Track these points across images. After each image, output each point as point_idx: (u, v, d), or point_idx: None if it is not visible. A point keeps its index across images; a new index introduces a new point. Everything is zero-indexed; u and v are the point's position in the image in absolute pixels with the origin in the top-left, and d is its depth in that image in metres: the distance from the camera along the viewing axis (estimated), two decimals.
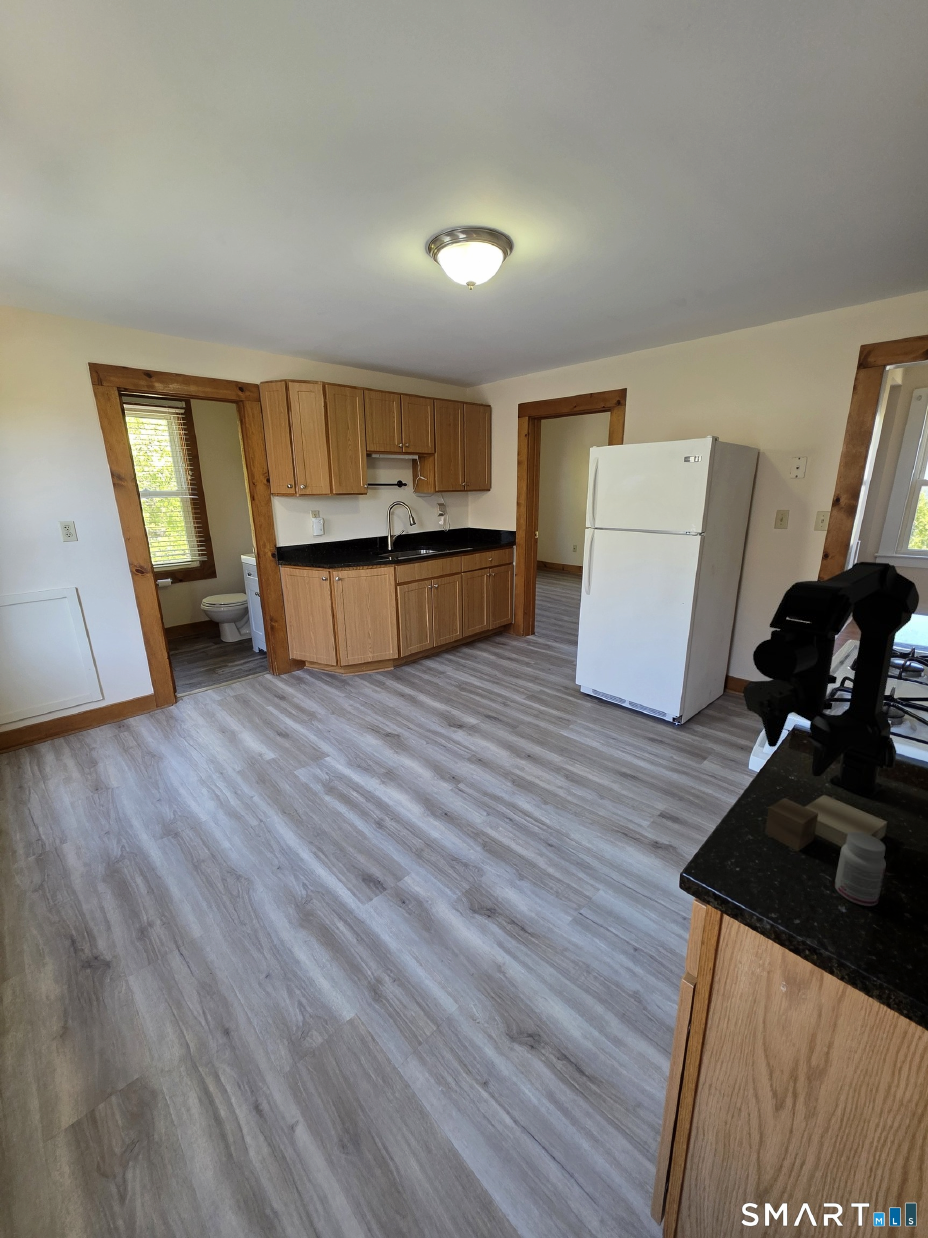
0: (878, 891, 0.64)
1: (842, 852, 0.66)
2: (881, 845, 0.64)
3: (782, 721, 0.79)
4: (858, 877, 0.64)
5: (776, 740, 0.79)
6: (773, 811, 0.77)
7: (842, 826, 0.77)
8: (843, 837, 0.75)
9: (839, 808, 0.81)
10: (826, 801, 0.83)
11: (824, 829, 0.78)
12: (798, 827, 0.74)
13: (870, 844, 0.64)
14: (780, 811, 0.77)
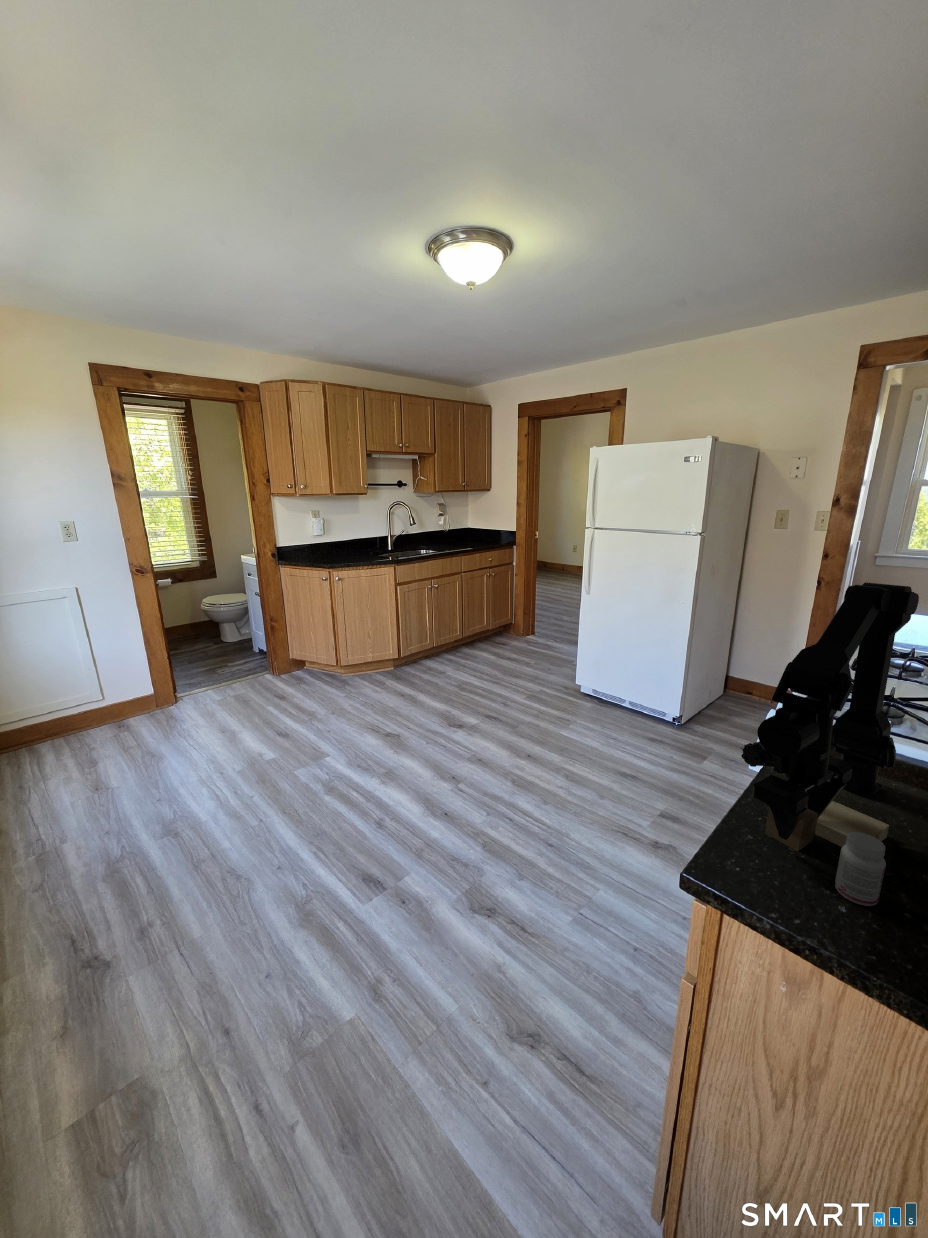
0: (878, 891, 0.64)
1: (842, 852, 0.66)
2: (881, 845, 0.64)
3: (825, 798, 0.77)
4: (858, 877, 0.64)
5: None
6: None
7: (844, 829, 0.76)
8: (845, 841, 0.75)
9: (841, 811, 0.81)
10: None
11: (826, 832, 0.77)
12: (798, 827, 0.74)
13: (870, 844, 0.64)
14: None
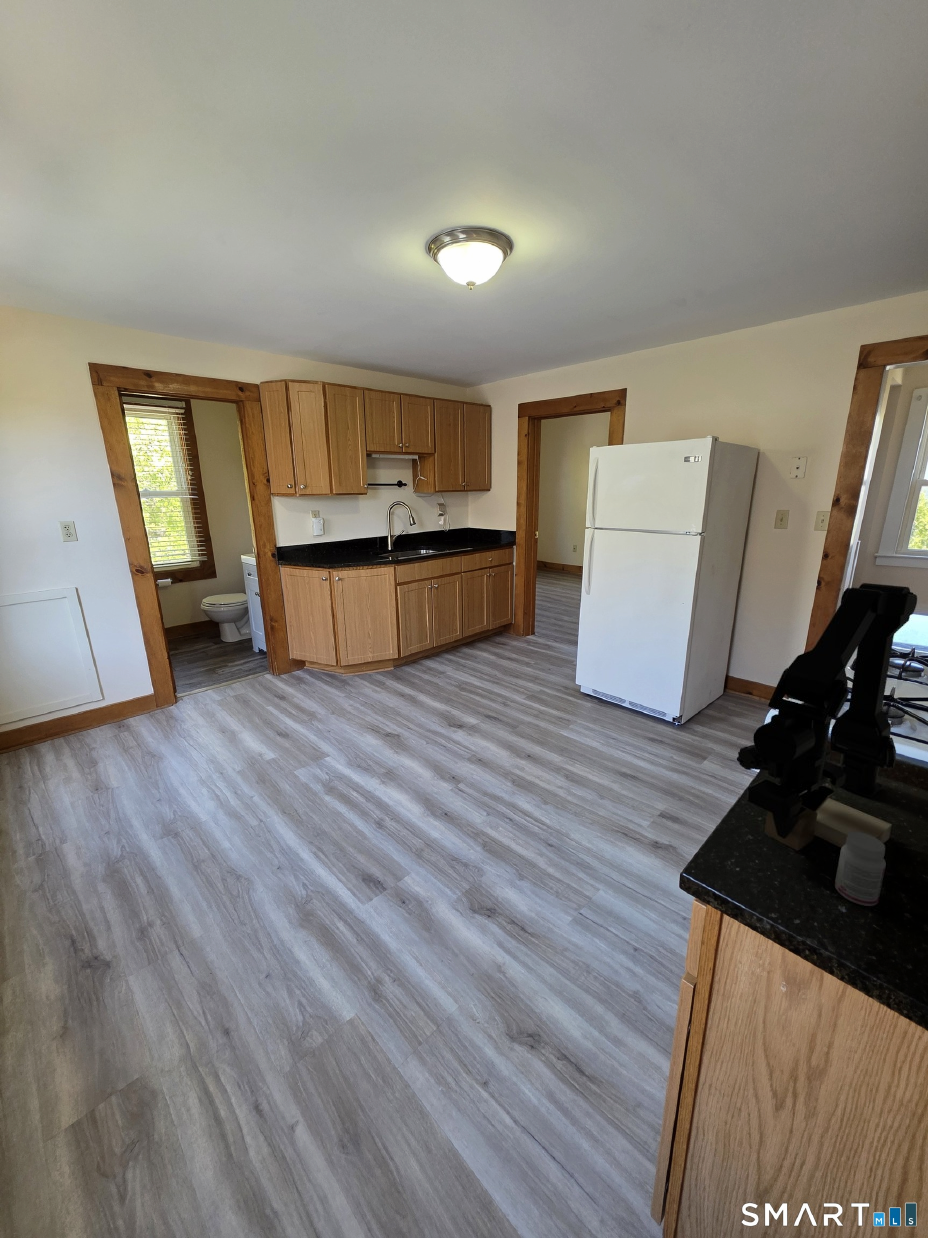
0: (878, 891, 0.64)
1: (842, 852, 0.66)
2: (881, 845, 0.64)
3: (812, 806, 0.77)
4: (858, 877, 0.64)
5: None
6: None
7: (846, 829, 0.76)
8: None
9: (843, 810, 0.81)
10: (830, 804, 0.82)
11: (829, 832, 0.77)
12: (797, 826, 0.74)
13: (870, 844, 0.64)
14: None
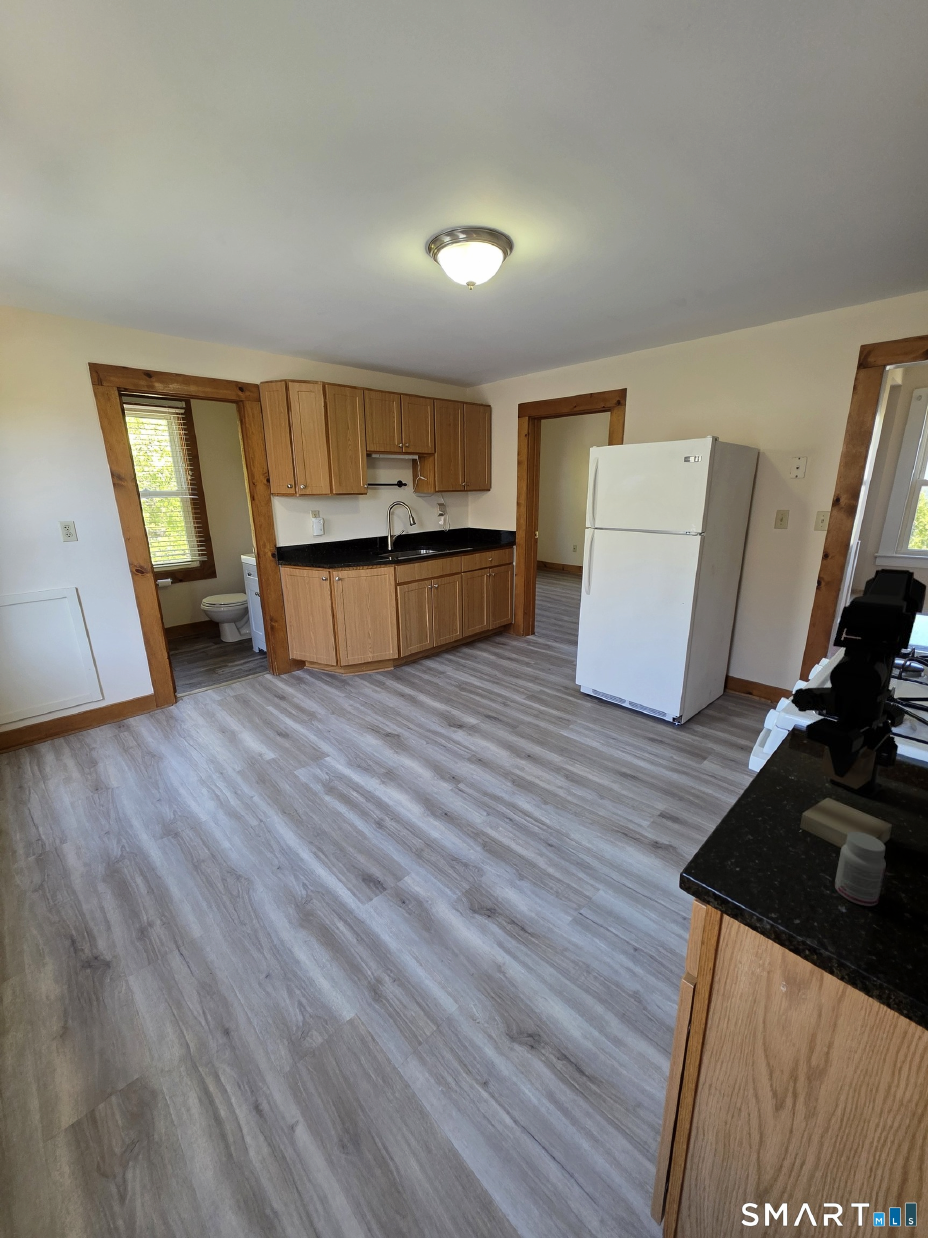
0: (878, 891, 0.64)
1: (842, 852, 0.66)
2: (881, 845, 0.64)
3: (870, 746, 0.77)
4: (858, 877, 0.64)
5: None
6: None
7: (846, 829, 0.76)
8: None
9: (843, 810, 0.81)
10: (830, 804, 0.82)
11: (829, 832, 0.77)
12: (857, 764, 0.74)
13: (870, 844, 0.64)
14: None
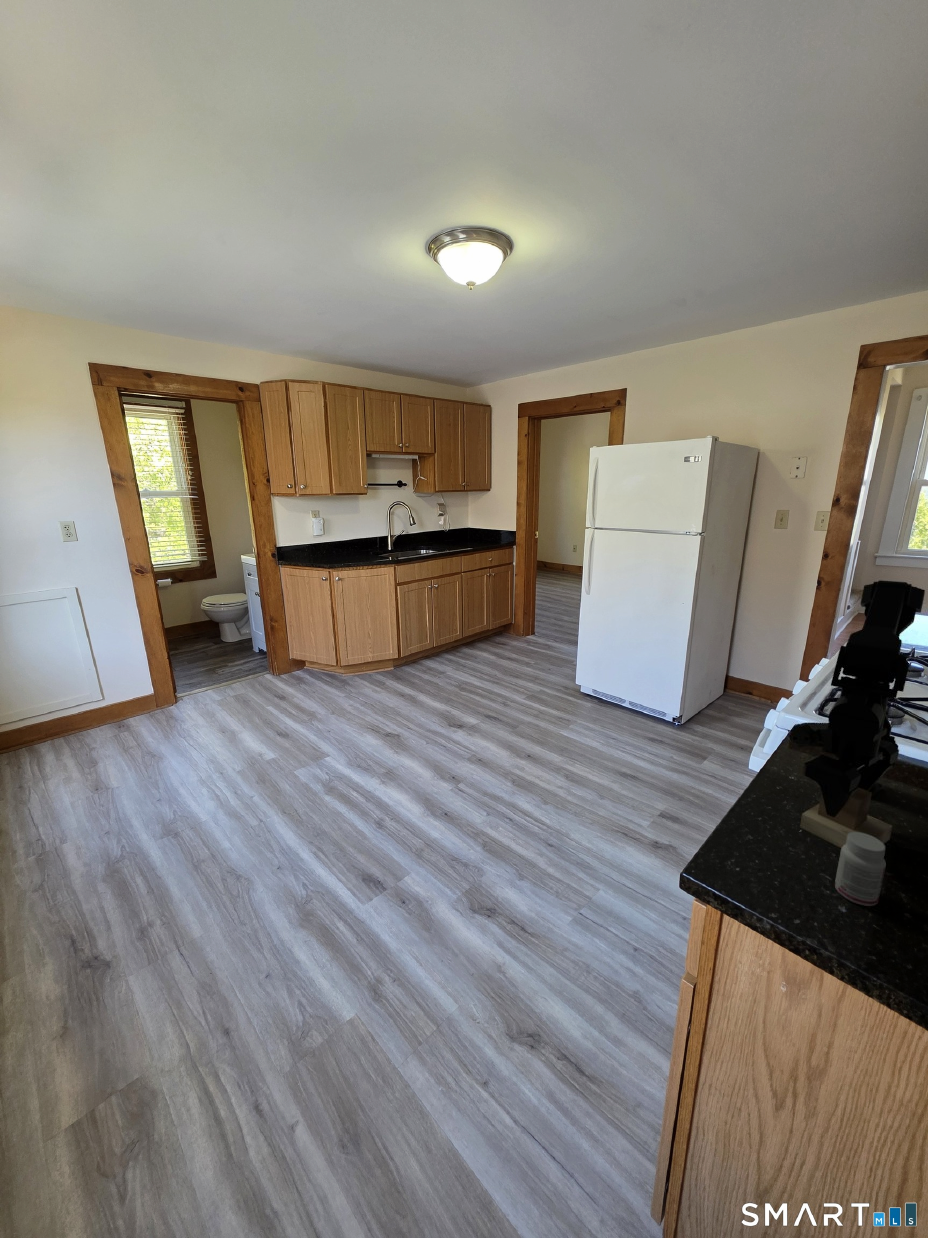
0: (878, 891, 0.64)
1: (842, 852, 0.66)
2: (881, 845, 0.64)
3: (870, 779, 0.79)
4: (858, 877, 0.64)
5: None
6: None
7: (846, 829, 0.76)
8: None
9: None
10: None
11: (828, 832, 0.77)
12: (854, 806, 0.75)
13: (870, 844, 0.64)
14: None
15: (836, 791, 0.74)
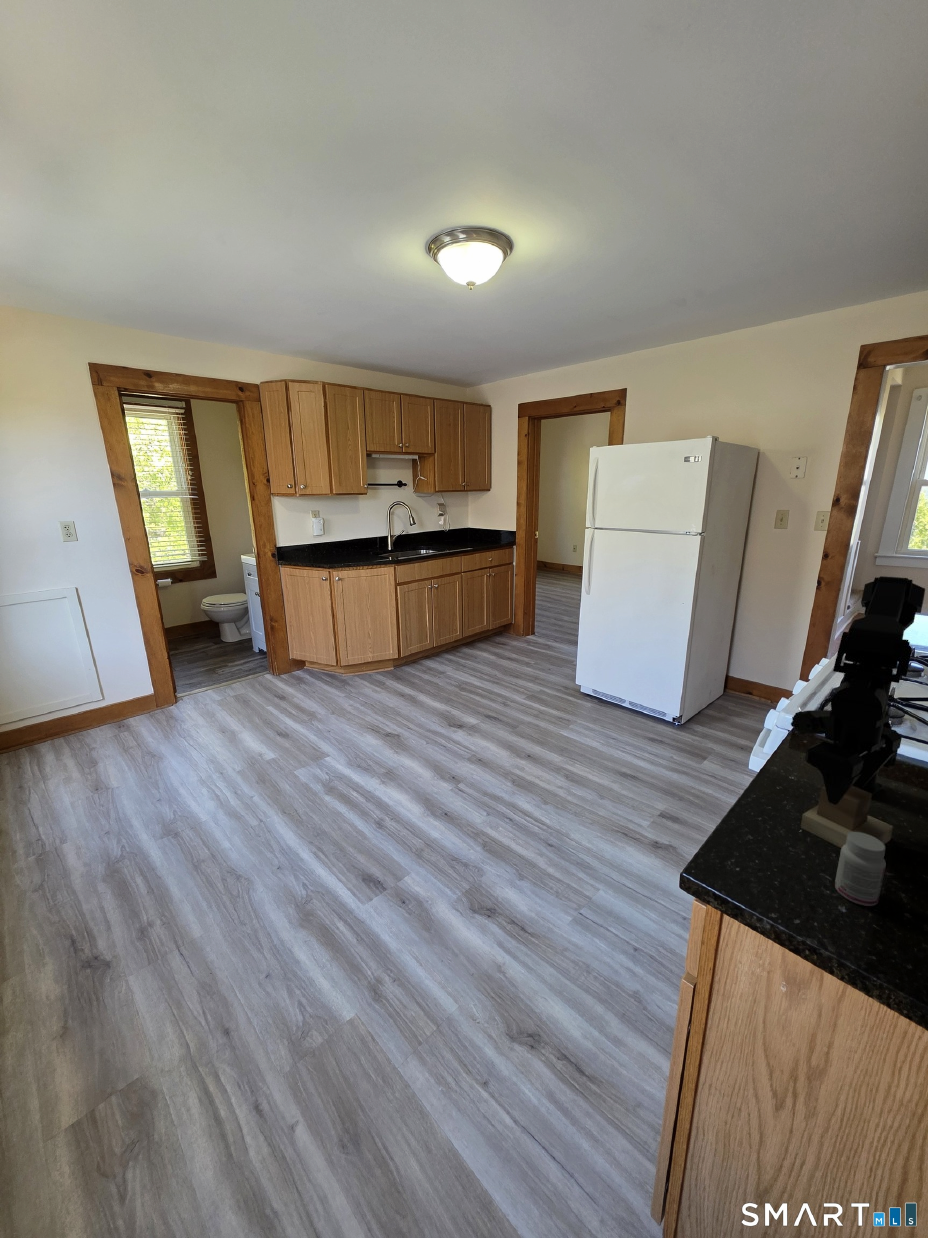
0: (878, 891, 0.64)
1: (842, 852, 0.66)
2: (881, 845, 0.64)
3: (873, 766, 0.78)
4: (858, 877, 0.64)
5: (862, 782, 0.80)
6: None
7: (847, 830, 0.76)
8: None
9: None
10: None
11: (829, 833, 0.77)
12: (852, 806, 0.75)
13: (870, 844, 0.64)
14: None
15: (838, 778, 0.74)
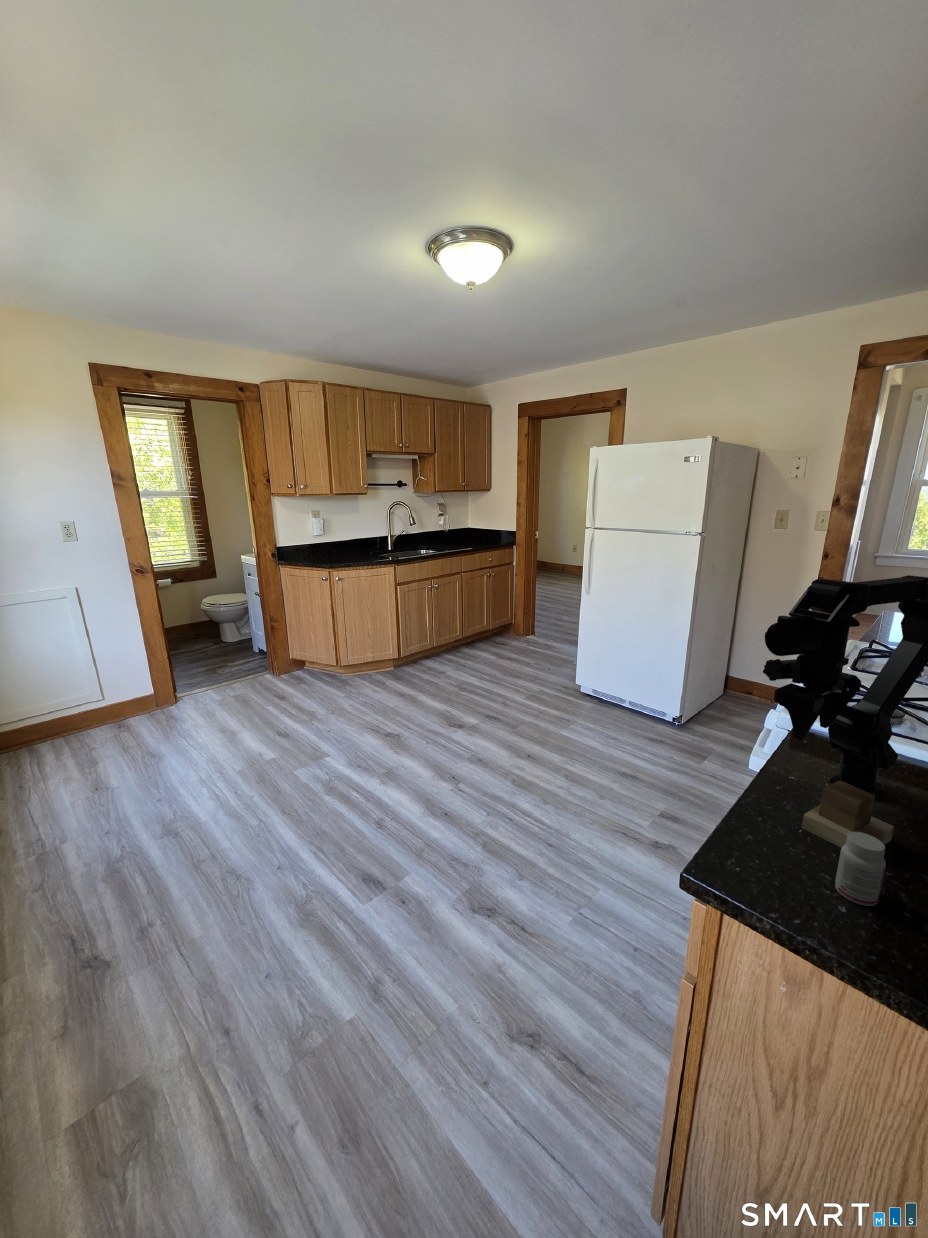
0: (878, 891, 0.64)
1: (842, 852, 0.66)
2: (881, 845, 0.64)
3: (836, 708, 0.87)
4: (858, 877, 0.64)
5: (826, 722, 0.89)
6: (828, 791, 0.78)
7: (848, 830, 0.76)
8: None
9: None
10: None
11: (830, 833, 0.77)
12: (853, 807, 0.75)
13: (870, 844, 0.64)
14: (835, 792, 0.77)
15: (803, 715, 0.83)
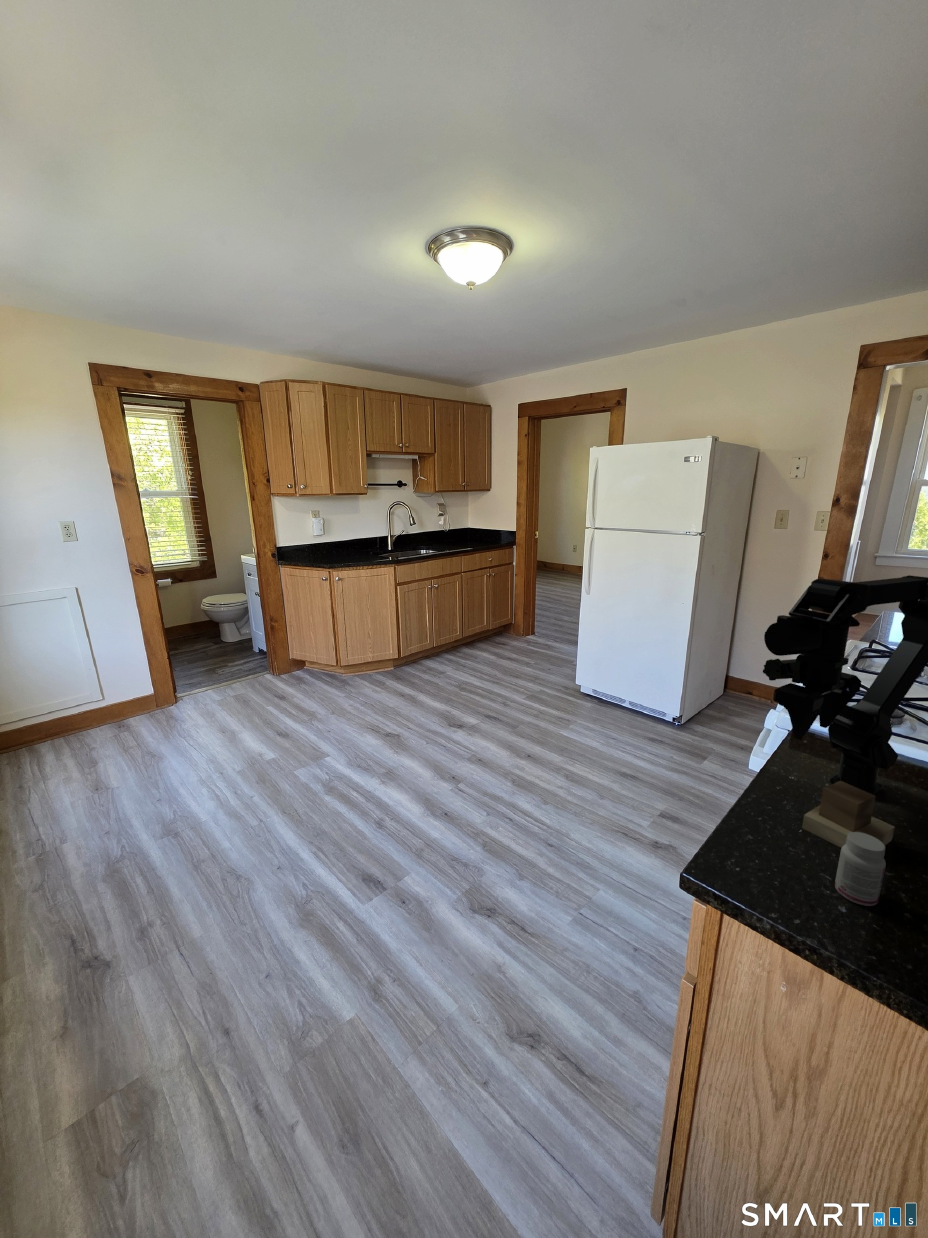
0: (878, 891, 0.64)
1: (842, 852, 0.66)
2: (881, 845, 0.64)
3: (836, 708, 0.87)
4: (858, 877, 0.64)
5: (826, 722, 0.89)
6: (827, 792, 0.78)
7: (848, 830, 0.76)
8: None
9: None
10: None
11: (830, 833, 0.77)
12: (853, 807, 0.75)
13: (870, 844, 0.64)
14: (835, 792, 0.77)
15: (802, 715, 0.83)
